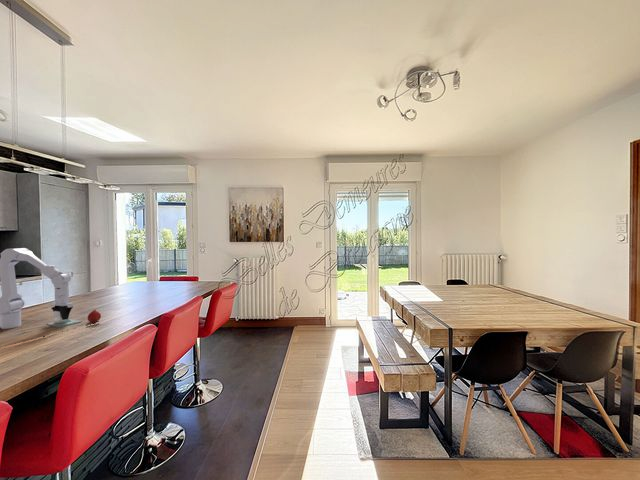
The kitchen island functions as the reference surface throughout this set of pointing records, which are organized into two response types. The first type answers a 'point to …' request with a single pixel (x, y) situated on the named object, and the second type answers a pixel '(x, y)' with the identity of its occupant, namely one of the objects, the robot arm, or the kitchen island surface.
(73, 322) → the hole plate
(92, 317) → the onion
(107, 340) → the kitchen island surface
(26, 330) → the brown square plate
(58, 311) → the steel peg
